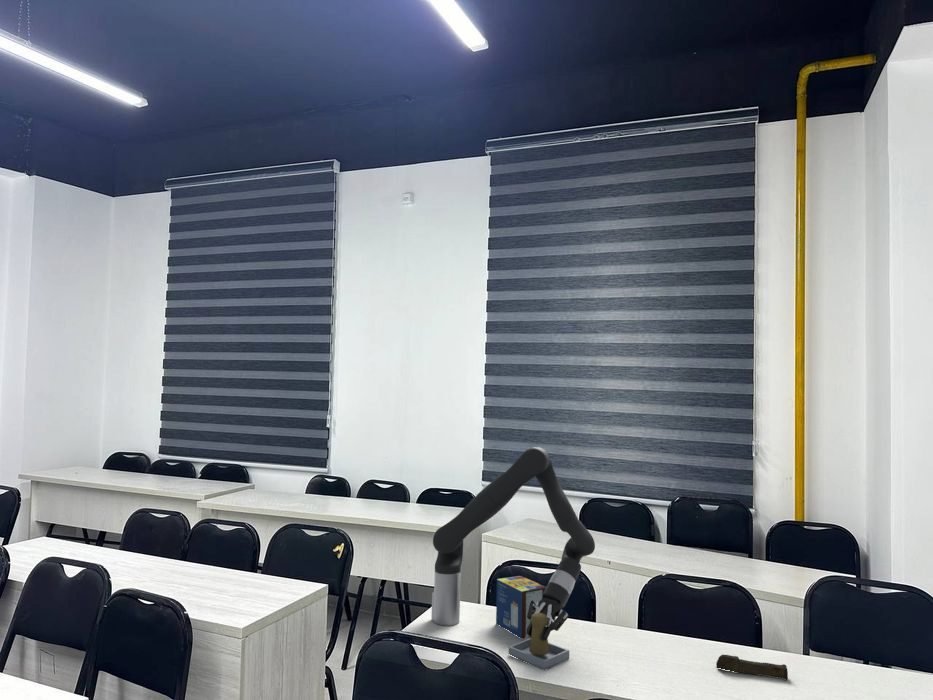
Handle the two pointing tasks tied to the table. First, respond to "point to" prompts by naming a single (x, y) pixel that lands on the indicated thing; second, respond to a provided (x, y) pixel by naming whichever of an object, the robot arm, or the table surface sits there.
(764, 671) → the hand tool
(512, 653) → the tray
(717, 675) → the table surface
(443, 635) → the table surface
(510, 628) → the protein box
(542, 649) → the cork
